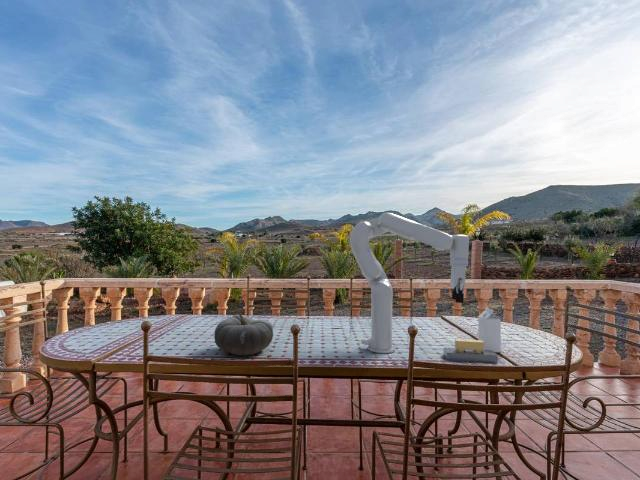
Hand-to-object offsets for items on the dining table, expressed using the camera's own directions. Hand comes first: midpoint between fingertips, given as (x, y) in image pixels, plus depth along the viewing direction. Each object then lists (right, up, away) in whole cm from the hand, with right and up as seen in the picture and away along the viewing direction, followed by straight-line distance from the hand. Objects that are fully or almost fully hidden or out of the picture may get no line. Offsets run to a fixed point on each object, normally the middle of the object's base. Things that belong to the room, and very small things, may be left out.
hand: (457, 301), depth 163 cm
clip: (+2, -23, -7) cm, 24 cm away
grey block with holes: (+3, -23, -7) cm, 24 cm away
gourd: (-95, -23, 0) cm, 97 cm away
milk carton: (+17, -24, +6) cm, 30 cm away
